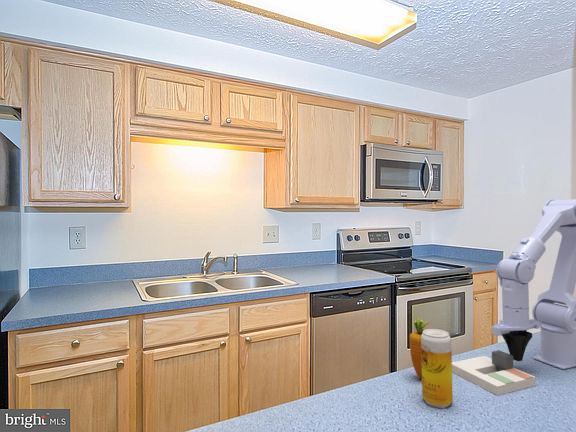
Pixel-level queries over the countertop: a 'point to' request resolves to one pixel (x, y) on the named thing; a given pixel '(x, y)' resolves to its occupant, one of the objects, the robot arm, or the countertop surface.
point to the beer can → (436, 368)
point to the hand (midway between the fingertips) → (516, 359)
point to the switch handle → (502, 360)
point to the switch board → (492, 375)
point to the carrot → (417, 346)
